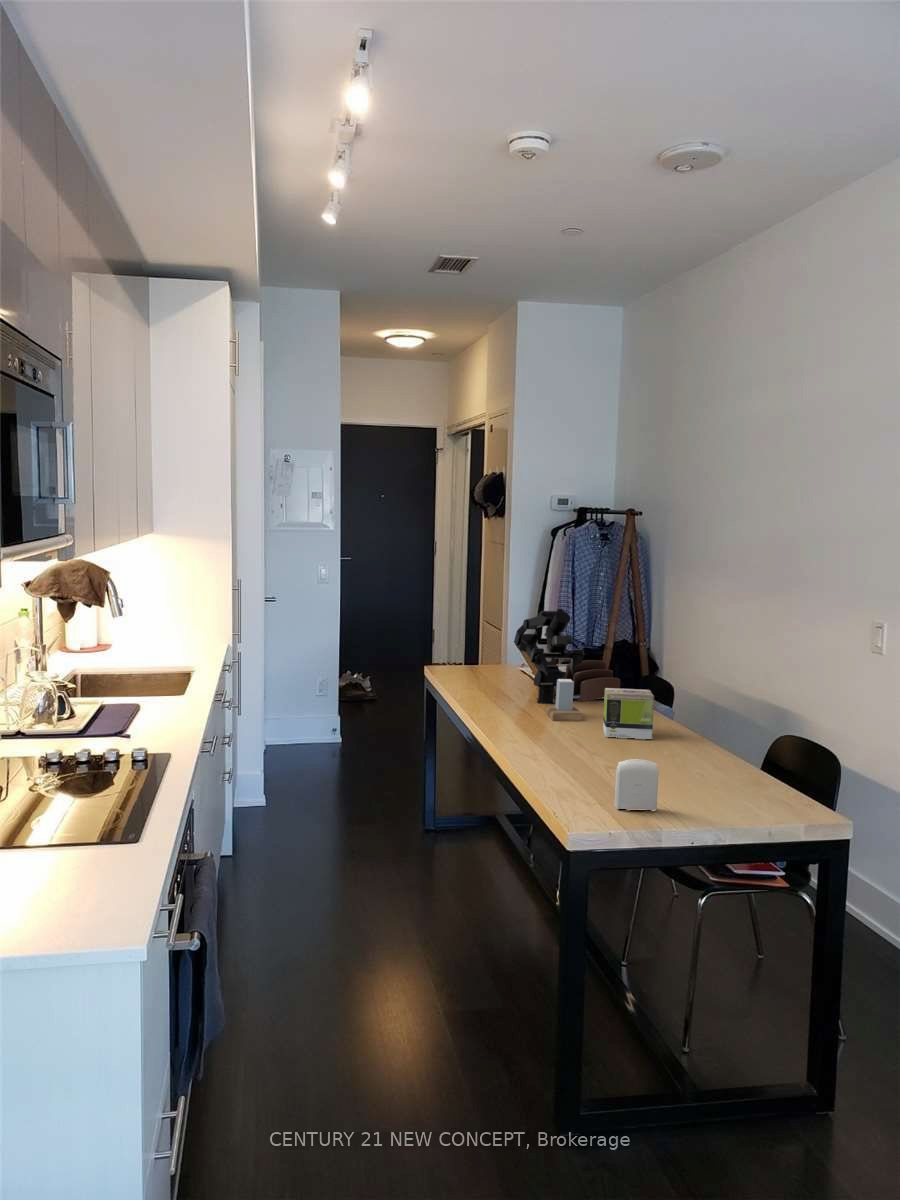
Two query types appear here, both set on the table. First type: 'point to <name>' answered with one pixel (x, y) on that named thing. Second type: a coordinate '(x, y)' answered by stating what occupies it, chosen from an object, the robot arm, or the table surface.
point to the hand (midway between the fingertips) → (560, 675)
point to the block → (563, 714)
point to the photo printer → (636, 785)
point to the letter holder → (591, 679)
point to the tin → (564, 695)
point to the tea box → (628, 713)
